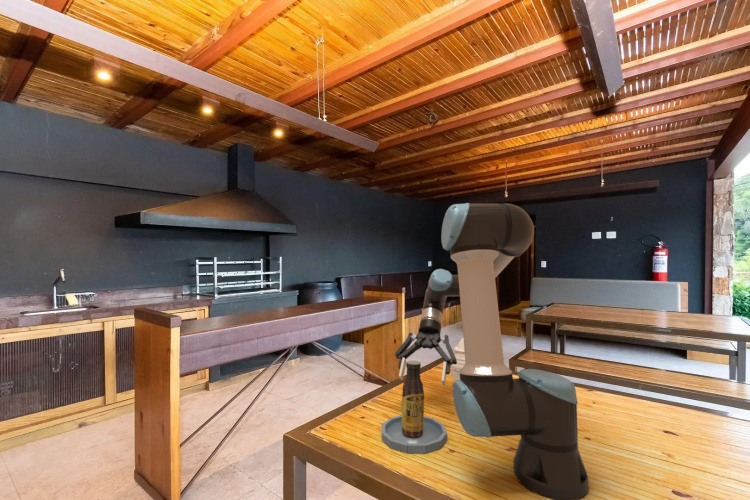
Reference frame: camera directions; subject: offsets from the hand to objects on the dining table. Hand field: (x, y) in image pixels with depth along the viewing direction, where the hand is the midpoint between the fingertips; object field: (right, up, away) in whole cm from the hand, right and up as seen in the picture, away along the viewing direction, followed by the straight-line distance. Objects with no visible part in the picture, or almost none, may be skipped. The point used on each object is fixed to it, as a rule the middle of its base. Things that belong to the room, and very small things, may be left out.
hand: (421, 380), depth 108 cm
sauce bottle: (-4, -11, -10) cm, 16 cm away
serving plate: (-4, -12, -10) cm, 16 cm away
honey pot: (+24, -13, +39) cm, 48 cm away
